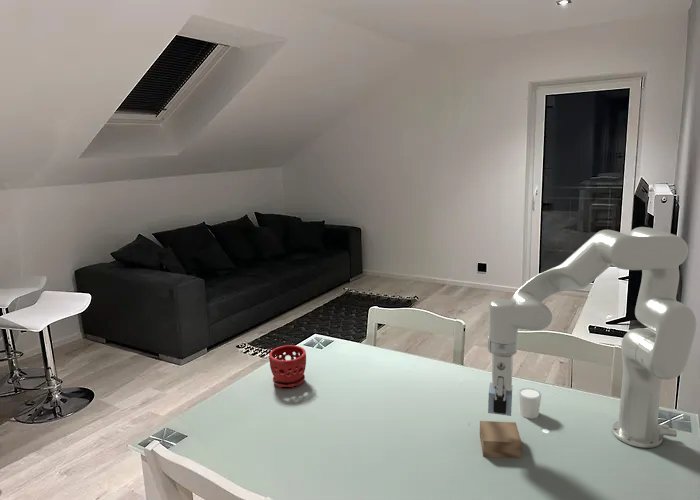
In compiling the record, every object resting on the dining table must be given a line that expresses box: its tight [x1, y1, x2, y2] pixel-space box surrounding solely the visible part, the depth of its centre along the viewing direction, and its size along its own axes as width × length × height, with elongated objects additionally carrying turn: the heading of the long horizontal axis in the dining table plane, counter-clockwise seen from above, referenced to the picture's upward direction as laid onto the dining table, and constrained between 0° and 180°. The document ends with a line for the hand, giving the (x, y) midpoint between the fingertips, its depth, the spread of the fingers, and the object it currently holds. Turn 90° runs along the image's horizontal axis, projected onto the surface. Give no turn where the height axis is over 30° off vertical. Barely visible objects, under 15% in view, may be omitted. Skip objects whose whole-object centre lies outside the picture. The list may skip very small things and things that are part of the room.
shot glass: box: [517, 387, 542, 419], centre depth 161 cm, size 7×7×7 cm
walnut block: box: [479, 420, 523, 459], centre depth 145 cm, size 10×10×5 cm
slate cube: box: [487, 382, 513, 417], centre depth 142 cm, size 6×6×6 cm
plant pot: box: [268, 344, 307, 388], centre depth 186 cm, size 13×13×12 cm
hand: (500, 405), depth 143 cm, fingers closed on slate cube, 6 cm apart
